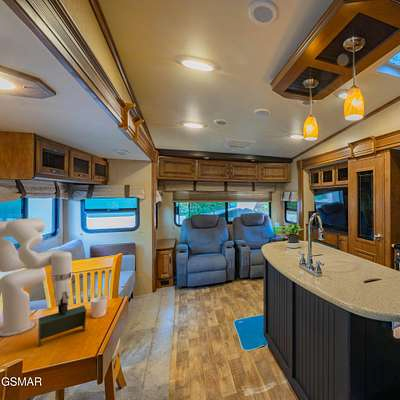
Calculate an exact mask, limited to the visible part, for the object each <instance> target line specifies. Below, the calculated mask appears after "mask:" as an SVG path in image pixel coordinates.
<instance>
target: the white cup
mask: <svg viewBox="0 0 400 400" xmlns="http://www.w3.org/2000/svg"><path fill="white" fill-rule="evenodd" d="M107 309H108V296H105V295H104V296H103V295H101V296H96V297H94V298H92V299H90V312H91V317H92V318H93V319H97V318H101V317H104V316H105V315H107Z"/></svg>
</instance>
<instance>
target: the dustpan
mask: <svg viewBox="0 0 400 400" xmlns="http://www.w3.org/2000/svg"><path fill="white" fill-rule="evenodd" d="M86 320H87V308H86V306H85V305H80V306H77V307H73V308H69V309H68V310H67V311H66V305H63V306H62V308H61V313H59V312H56V313H52V314H48V315H45V316H41V317H38V327H37V328H38V329H37V330H38V333H37V334H38V336H37V340H38V345H39V347H41V346H42V340H44V339H47V338H50V337H52V336H56V335H60V334H62V333H66V332H69V331H71V330H74V329H77V328H80V327H82V330H83V332H85V331H86V322H87V321H86Z"/></svg>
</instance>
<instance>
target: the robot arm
mask: <svg viewBox="0 0 400 400" xmlns="http://www.w3.org/2000/svg"><path fill="white" fill-rule="evenodd" d="M45 229H46V223H45V221H44V220H42V219H41V218H38V217H30V218H29V217H28V218H18V219H14V220H3V221H0V272H1V273H8V274H5V275H3V276H2V277H0V293H1V299H2V316H3V317H2V323H3V325H2V326H3V328H2V329H1V330H0V337H12V336H16V335H20V334H22V333H25V332H27V331H29V330H32V329H33V328H34V327H35V323H36V322H34V321H31V297H30V293H29V292H27V291H26V290H24V289H25V288H26V289H27V288H29V287H33V286H35V285H39V284H41V283H43V282H44V281H45V280H46V278H47V272H46V270H45V268H46V267H50V270H51V271H50V272H51V273H50V275H51V282H52V283H53V299H54V300H55V301H56V302H57V303H58V304H57V308H58V312H57V313H61V308H62V306H63V305H66V311H67V310H69V309H68V300H69V299H70V298H71V287H70V286H71V283H70V280H71V279H73V261H72V260H73V259H72V258H73V257H72V255H73V254H72V253H71V252H70V251H63V250H61V249H53V250H48V251H43V252H42V251H41V252H37V251H35V250H31V249H33V248H35V247H36V246H38V245H39V244H41V242H43V240H44V236H43V235H42V234H41V233H43V232H44V231H45ZM6 237H12V238H13V239H14V240H15V241H16V242H17V243H18V245H20V246H19V247H18V250H17V249H16V247H15V244H14V243H13V242H12V241H10V240H8V239H6ZM18 270H19V271H18ZM13 271H14V272H13ZM9 272H10V273H9Z"/></svg>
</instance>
